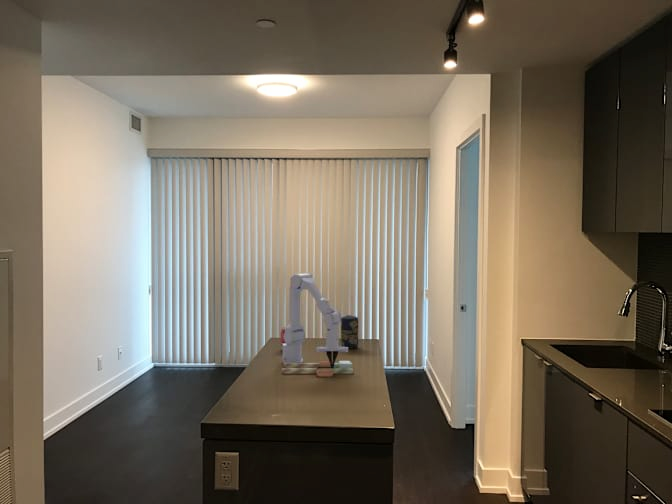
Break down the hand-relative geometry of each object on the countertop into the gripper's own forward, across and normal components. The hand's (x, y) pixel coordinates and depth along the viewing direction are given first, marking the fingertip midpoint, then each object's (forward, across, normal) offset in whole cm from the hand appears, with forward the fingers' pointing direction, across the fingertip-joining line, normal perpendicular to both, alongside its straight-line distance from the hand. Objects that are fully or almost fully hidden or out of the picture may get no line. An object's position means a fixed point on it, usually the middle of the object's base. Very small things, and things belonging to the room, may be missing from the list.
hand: (332, 367), depth 227 cm
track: (+1, -7, 0) cm, 7 cm away
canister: (+2, +10, +46) cm, 47 cm away
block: (+2, +6, 0) cm, 6 cm away
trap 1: (+1, -3, +8) cm, 8 cm away
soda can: (+2, -24, +40) cm, 47 cm away
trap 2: (+1, -3, -8) cm, 9 cm away
